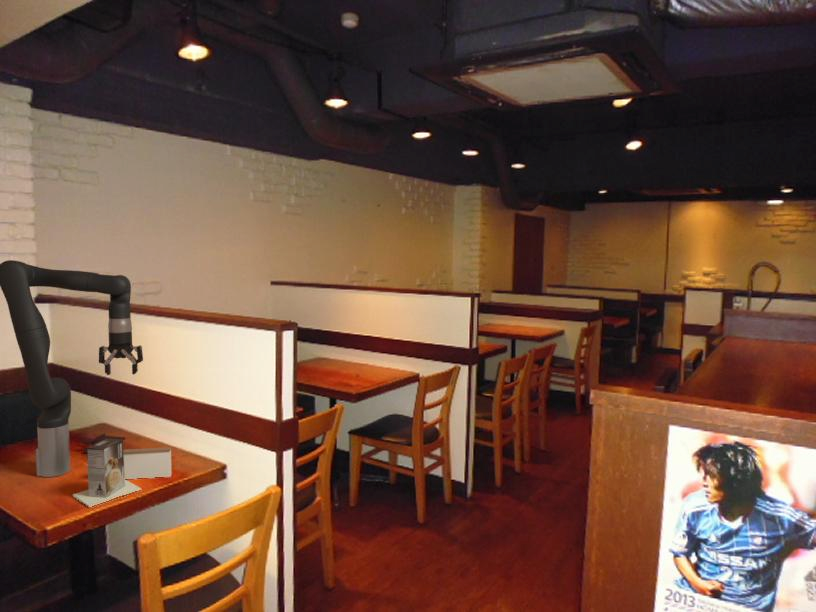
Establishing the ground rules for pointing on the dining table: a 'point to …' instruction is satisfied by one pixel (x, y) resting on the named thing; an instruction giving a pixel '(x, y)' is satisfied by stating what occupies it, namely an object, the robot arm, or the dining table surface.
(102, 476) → the coffee box
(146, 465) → the flat box
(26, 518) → the dining table surface
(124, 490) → the mat
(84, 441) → the icecream
